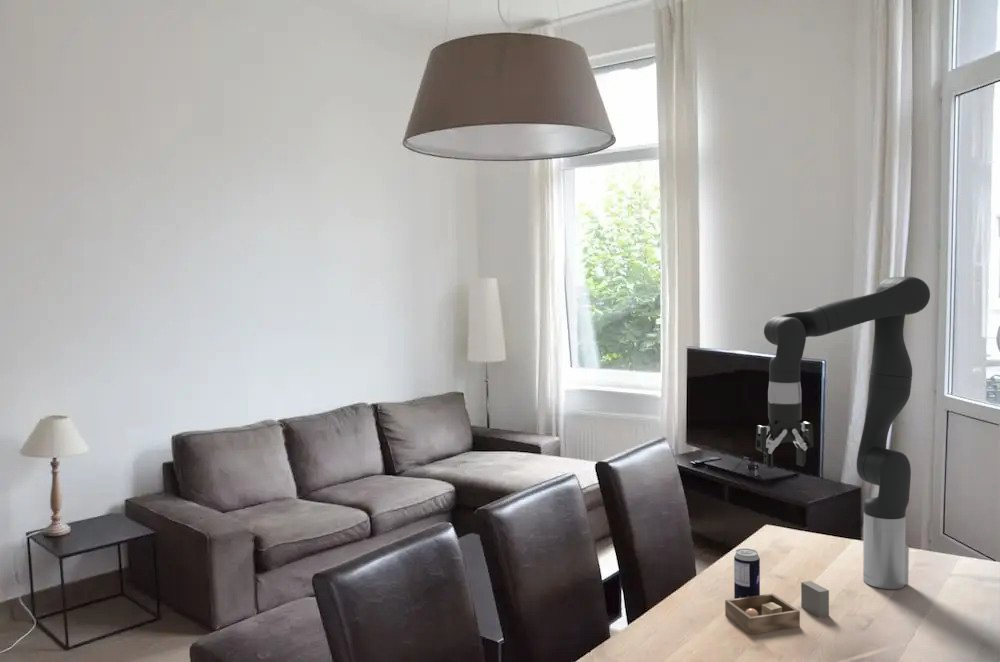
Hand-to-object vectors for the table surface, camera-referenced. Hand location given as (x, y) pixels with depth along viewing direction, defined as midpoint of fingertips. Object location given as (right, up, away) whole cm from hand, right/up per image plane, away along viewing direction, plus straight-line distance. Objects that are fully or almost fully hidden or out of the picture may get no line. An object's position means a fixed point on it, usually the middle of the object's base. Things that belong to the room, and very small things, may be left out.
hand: (784, 466), depth 189 cm
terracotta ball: (-13, -30, -17) cm, 37 cm away
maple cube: (-9, -31, -16) cm, 36 cm away
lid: (+2, -31, -12) cm, 34 cm away
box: (-11, -32, -16) cm, 37 cm away
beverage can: (-11, -31, -5) cm, 33 cm away
